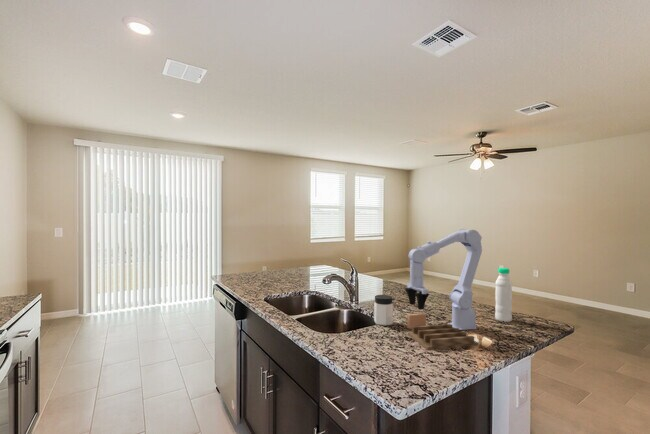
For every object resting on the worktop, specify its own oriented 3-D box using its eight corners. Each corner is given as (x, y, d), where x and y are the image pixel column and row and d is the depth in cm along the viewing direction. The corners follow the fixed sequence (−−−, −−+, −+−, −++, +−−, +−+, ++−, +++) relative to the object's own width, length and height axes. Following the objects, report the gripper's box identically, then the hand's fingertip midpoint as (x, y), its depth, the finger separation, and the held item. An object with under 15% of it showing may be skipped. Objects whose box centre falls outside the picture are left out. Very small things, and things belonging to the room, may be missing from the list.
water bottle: (496, 321, 150) (496, 268, 150) (494, 316, 156) (494, 266, 156) (513, 323, 147) (513, 269, 147) (510, 318, 154) (510, 267, 154)
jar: (382, 326, 140) (382, 300, 140) (370, 321, 147) (370, 296, 147) (396, 323, 145) (396, 297, 145) (384, 318, 152) (384, 293, 152)
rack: (454, 331, 135) (454, 323, 135) (478, 345, 121) (478, 336, 121) (407, 334, 131) (407, 326, 131) (426, 349, 116) (426, 340, 116)
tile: (423, 326, 142) (423, 313, 142) (425, 327, 140) (426, 314, 140) (407, 327, 140) (407, 314, 140) (409, 329, 138) (409, 315, 138)
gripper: (401, 273, 146) (400, 302, 146) (416, 279, 132) (416, 311, 132) (414, 273, 148) (414, 301, 147) (431, 278, 133) (431, 310, 133)
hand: (416, 306), depth 140 cm, fingers open, 7 cm apart
